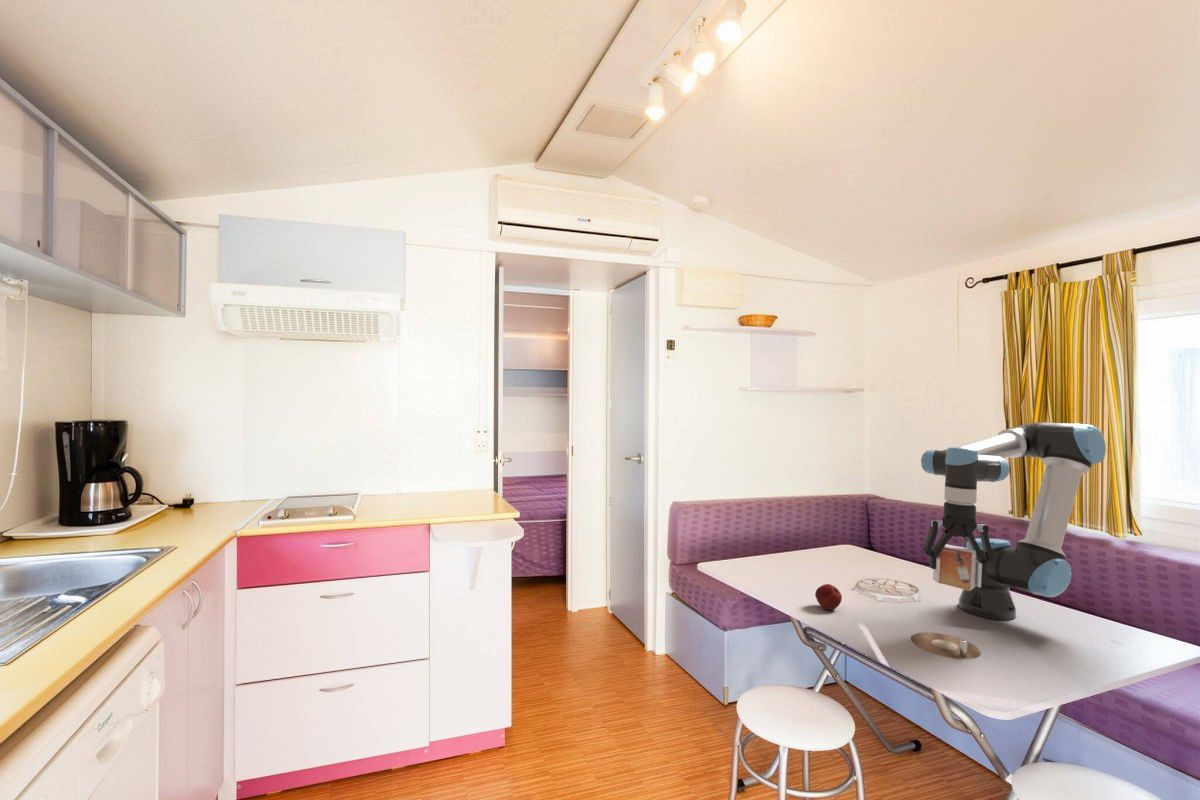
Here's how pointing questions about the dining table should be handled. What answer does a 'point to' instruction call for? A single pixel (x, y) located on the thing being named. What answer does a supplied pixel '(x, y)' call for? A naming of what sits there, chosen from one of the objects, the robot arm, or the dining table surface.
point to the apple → (828, 596)
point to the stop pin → (963, 648)
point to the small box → (958, 567)
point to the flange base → (943, 645)
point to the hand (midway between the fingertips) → (956, 583)
